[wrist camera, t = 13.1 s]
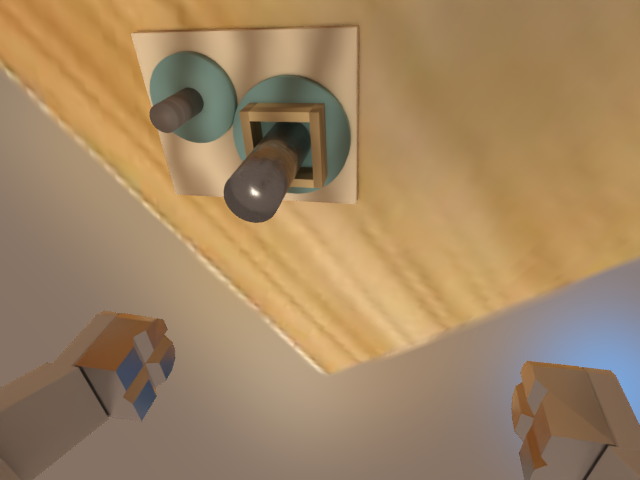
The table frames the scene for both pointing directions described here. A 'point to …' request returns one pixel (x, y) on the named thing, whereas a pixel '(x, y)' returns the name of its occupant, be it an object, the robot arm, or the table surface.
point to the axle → (267, 172)
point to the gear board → (254, 103)
